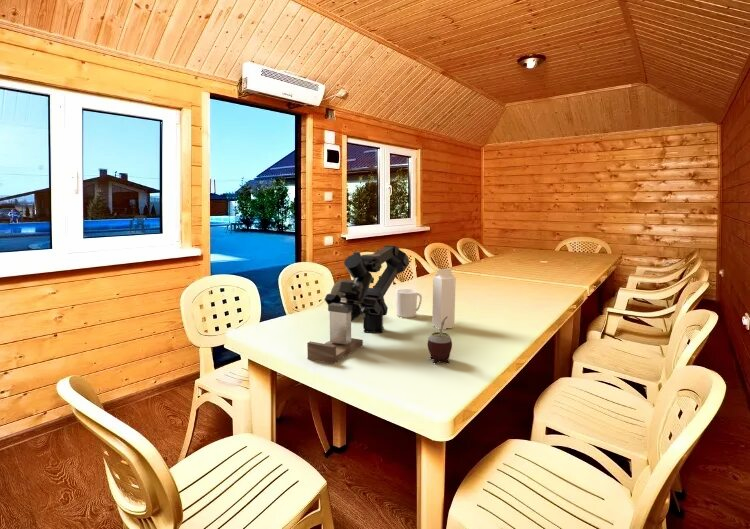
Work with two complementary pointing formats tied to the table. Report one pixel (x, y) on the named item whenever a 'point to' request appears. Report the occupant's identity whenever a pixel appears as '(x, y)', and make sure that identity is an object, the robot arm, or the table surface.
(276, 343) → the table surface
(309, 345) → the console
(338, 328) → the fader tab
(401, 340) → the table surface
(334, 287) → the dark rounded lump
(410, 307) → the mug
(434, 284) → the milk
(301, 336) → the table surface
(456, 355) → the table surface
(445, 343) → the mate gourd
